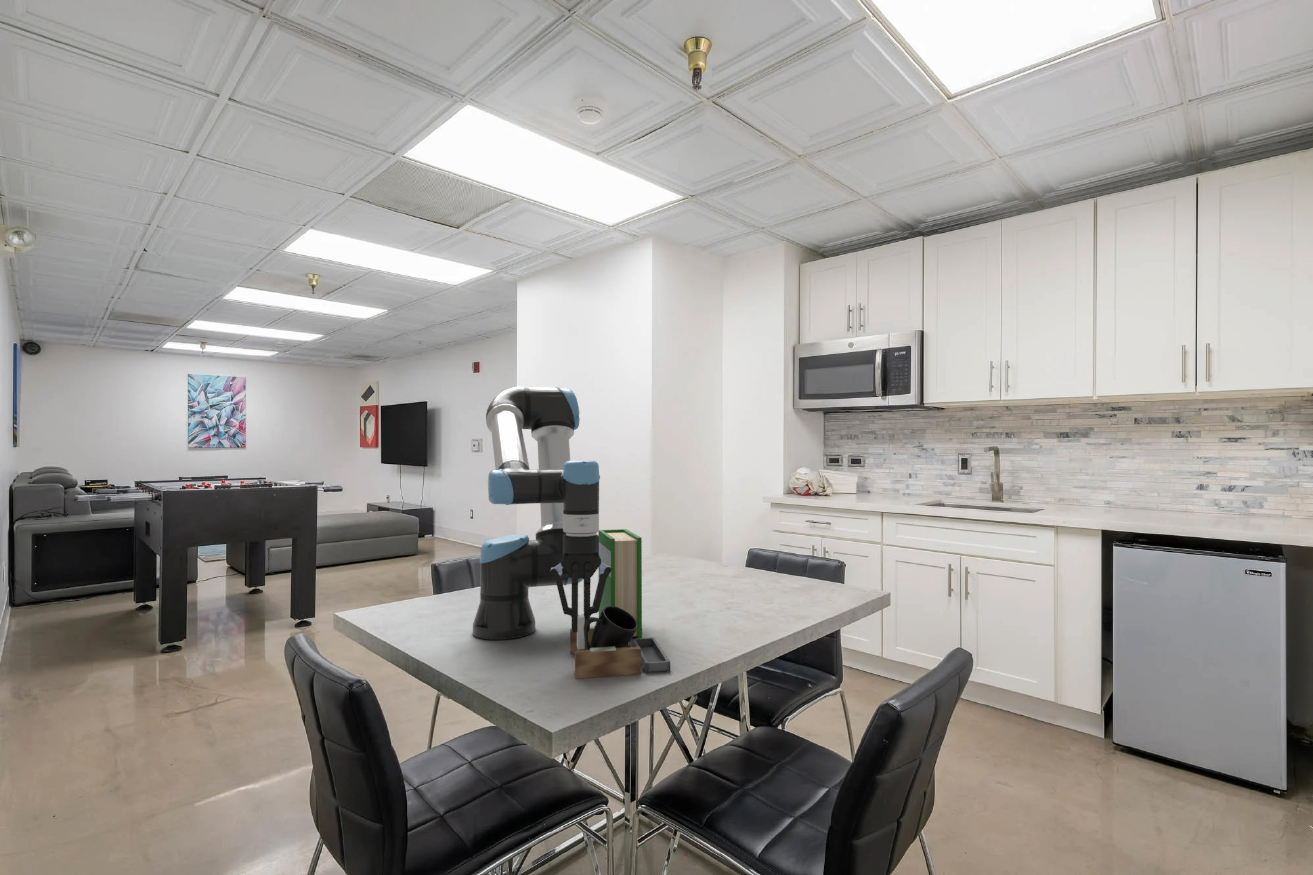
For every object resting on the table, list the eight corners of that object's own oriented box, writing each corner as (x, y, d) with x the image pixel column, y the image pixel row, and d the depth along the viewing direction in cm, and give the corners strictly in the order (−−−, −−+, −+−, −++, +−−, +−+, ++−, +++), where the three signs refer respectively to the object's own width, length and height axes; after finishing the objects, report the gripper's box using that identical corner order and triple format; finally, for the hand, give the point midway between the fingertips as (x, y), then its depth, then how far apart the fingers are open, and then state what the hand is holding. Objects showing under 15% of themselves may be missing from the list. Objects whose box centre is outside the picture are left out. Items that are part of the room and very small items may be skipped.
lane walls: (575, 678, 122) (575, 651, 122) (570, 651, 139) (570, 627, 139) (641, 673, 124) (640, 647, 124) (628, 647, 141) (627, 624, 141)
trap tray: (645, 673, 125) (645, 663, 125) (632, 647, 141) (632, 638, 141) (670, 671, 126) (670, 661, 126) (654, 646, 142) (654, 637, 142)
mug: (562, 639, 130) (581, 601, 129) (608, 643, 138) (627, 607, 136) (577, 666, 124) (598, 627, 122) (624, 668, 131) (644, 631, 130)
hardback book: (641, 639, 148) (641, 537, 148) (611, 641, 146) (610, 538, 146) (626, 620, 165) (626, 529, 165) (598, 622, 163) (598, 530, 163)
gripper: (550, 536, 126) (549, 654, 125) (613, 535, 129) (613, 650, 128) (549, 532, 134) (548, 643, 133) (609, 531, 136) (609, 640, 135)
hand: (580, 647), depth 130 cm, fingers closed
